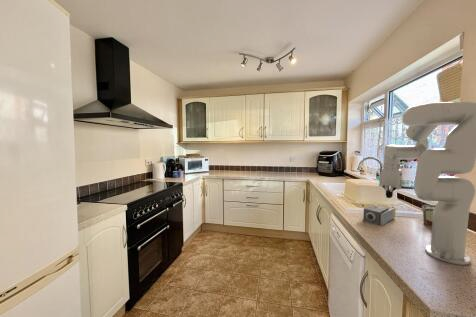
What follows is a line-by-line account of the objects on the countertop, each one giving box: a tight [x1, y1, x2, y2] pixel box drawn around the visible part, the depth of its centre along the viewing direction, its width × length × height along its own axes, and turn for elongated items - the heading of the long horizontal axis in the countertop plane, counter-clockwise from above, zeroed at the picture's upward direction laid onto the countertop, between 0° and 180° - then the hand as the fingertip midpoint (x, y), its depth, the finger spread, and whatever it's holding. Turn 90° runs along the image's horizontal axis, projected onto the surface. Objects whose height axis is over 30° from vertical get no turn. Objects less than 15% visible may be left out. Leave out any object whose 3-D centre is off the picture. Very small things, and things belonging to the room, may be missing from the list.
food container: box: [421, 204, 436, 227], centre depth 113 cm, size 12×6×10 cm, turn 84°
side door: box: [379, 207, 397, 227], centre depth 116 cm, size 18×1×6 cm, turn 126°
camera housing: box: [362, 204, 390, 226], centre depth 118 cm, size 14×8×8 cm, turn 126°
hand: (388, 197), depth 122 cm, fingers closed
